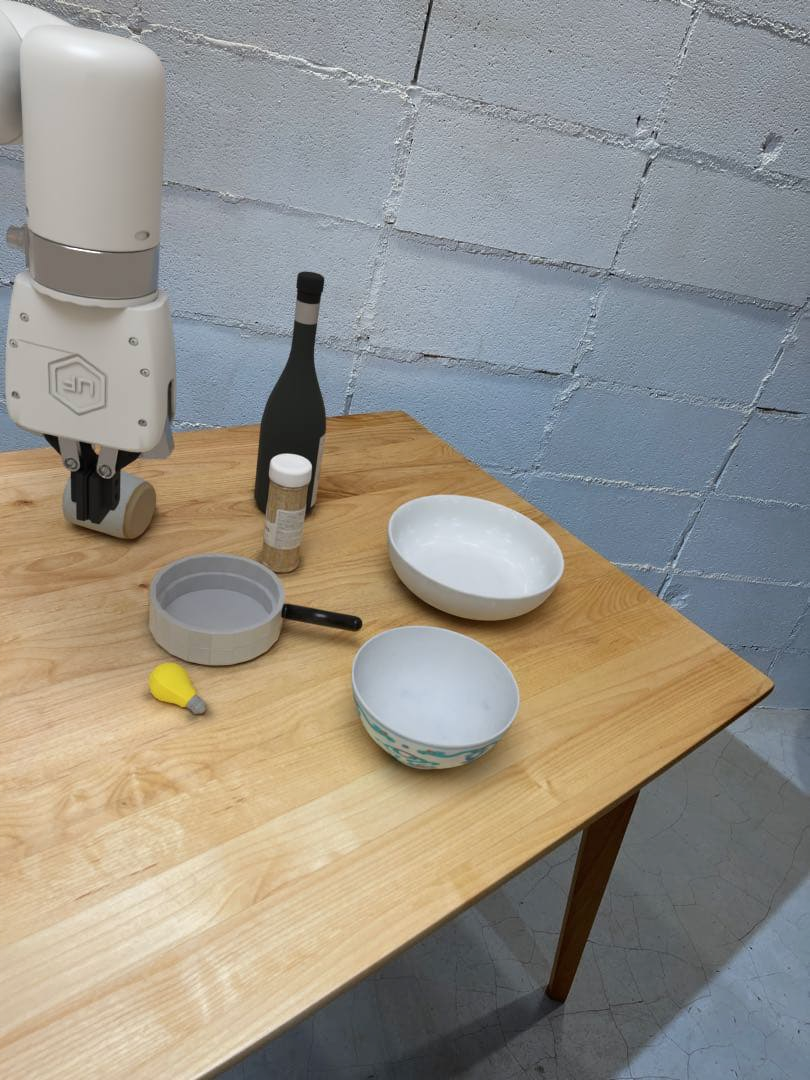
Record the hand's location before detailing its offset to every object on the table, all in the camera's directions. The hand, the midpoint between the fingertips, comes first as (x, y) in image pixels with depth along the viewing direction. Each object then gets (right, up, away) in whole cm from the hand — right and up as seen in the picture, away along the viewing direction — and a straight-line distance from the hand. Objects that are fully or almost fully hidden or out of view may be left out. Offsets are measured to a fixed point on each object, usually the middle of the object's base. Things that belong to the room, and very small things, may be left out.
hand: (96, 512), depth 60 cm
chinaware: (+24, -21, +16) cm, 36 cm away
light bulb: (+2, -17, +14) cm, 22 cm away
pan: (+3, -11, +24) cm, 27 cm away
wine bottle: (+7, +2, +46) cm, 47 cm away
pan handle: (+14, -11, +23) cm, 29 cm away
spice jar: (+8, -5, +35) cm, 36 cm away
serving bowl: (+30, -8, +38) cm, 49 cm away
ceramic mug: (-11, 0, +36) cm, 38 cm away
